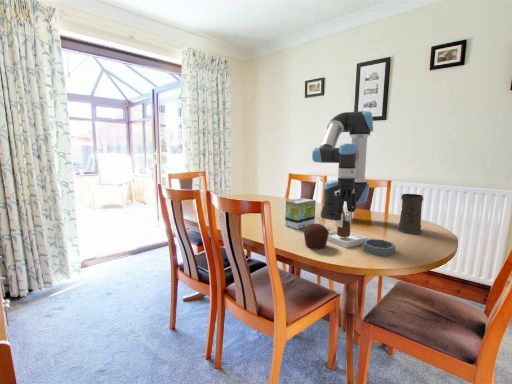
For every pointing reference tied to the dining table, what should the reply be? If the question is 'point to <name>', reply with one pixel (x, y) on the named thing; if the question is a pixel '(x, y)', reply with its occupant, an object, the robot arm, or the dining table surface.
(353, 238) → the tray
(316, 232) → the muffin
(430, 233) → the dining table surface
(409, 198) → the beer stein
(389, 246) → the grey octagonal ring
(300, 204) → the tea box
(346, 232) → the utensil holder
